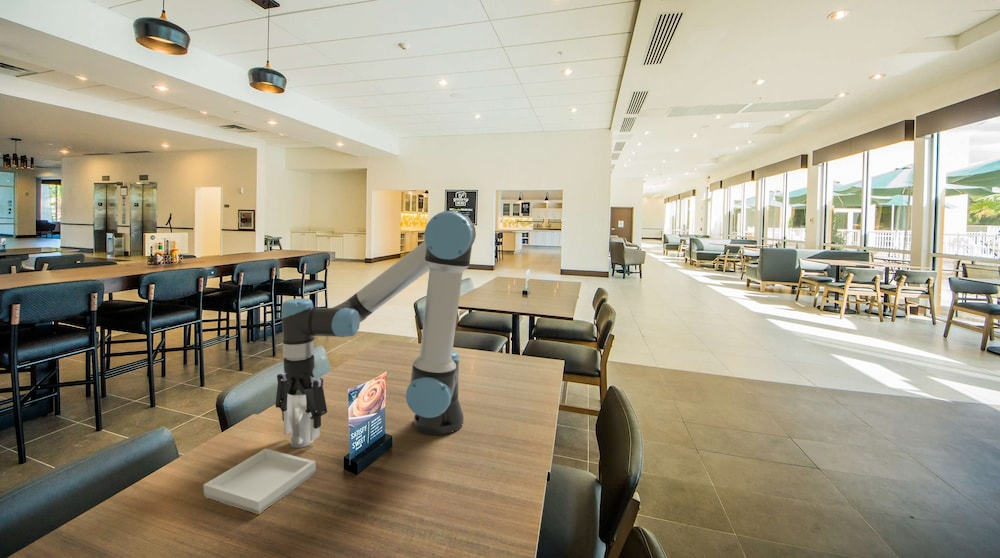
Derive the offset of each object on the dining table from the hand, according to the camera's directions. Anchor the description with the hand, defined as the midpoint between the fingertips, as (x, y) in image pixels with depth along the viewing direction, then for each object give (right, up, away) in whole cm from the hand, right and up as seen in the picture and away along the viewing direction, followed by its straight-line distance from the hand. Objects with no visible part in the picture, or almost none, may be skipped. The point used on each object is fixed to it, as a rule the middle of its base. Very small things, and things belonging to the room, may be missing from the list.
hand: (302, 435), depth 115 cm
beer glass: (0, -2, 0) cm, 2 cm away
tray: (0, -5, -19) cm, 19 cm away
